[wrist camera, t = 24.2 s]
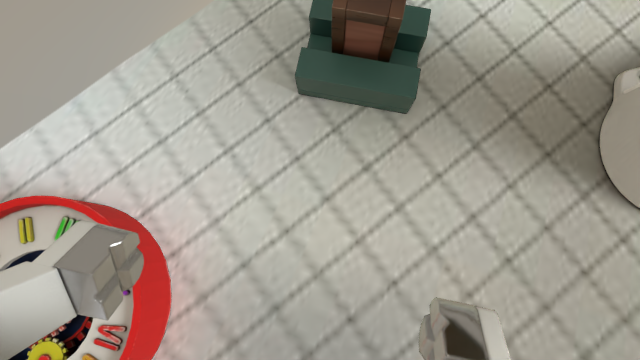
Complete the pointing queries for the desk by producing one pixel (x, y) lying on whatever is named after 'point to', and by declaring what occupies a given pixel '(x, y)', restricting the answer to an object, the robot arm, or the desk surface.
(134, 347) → the toy clock
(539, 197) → the desk surface
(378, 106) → the holder
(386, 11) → the frame
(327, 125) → the desk surface
